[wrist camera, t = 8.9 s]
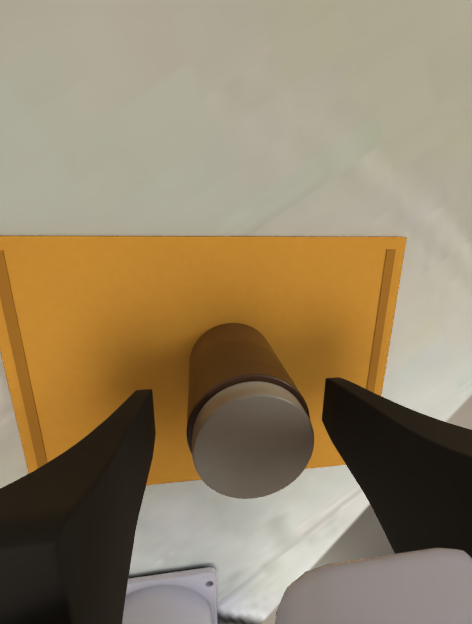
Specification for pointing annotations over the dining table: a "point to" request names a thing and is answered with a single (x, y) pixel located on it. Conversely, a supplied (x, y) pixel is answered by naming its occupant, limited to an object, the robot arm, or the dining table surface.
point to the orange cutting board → (183, 326)
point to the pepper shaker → (245, 415)
